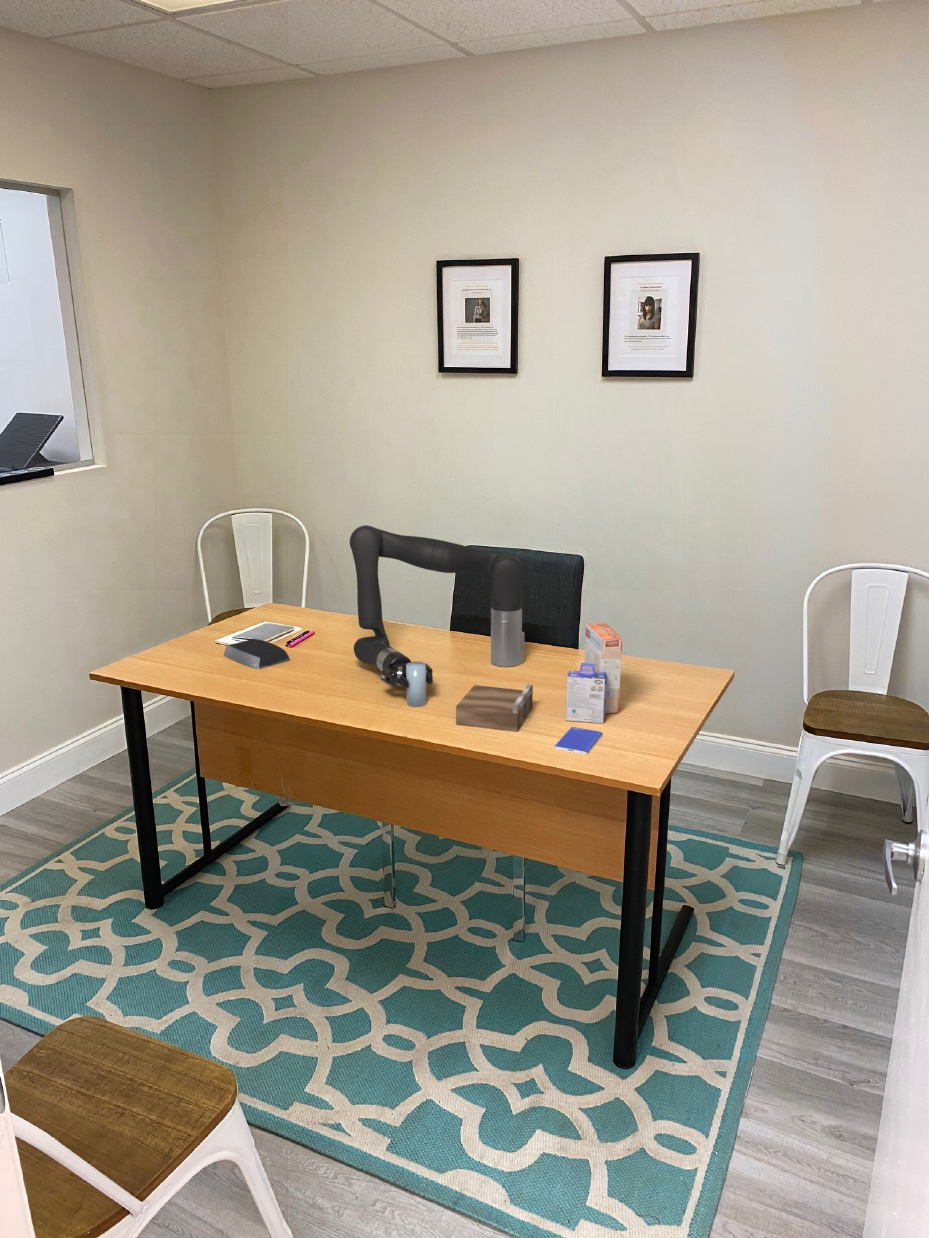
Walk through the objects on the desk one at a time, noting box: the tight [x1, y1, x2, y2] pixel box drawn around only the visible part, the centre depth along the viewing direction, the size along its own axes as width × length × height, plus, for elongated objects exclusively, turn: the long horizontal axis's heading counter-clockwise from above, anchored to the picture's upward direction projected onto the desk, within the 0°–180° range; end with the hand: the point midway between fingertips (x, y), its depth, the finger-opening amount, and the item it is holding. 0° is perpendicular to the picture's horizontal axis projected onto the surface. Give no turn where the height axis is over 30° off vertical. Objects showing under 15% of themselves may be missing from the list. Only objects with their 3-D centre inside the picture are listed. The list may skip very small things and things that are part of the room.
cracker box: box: [583, 622, 623, 715], centre depth 247 cm, size 14×6×21 cm, turn 9°
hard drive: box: [553, 726, 604, 755], centre depth 227 cm, size 2×8×12 cm
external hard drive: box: [223, 638, 291, 670], centre depth 288 cm, size 13×19×4 cm
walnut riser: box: [455, 683, 534, 733], centre depth 242 cm, size 16×16×7 cm
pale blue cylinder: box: [406, 661, 427, 708], centre depth 250 cm, size 5×5×11 cm
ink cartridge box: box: [565, 662, 607, 724], centre depth 239 cm, size 10×6×14 cm, turn 78°
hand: (419, 682), depth 248 cm, fingers open, 6 cm apart
